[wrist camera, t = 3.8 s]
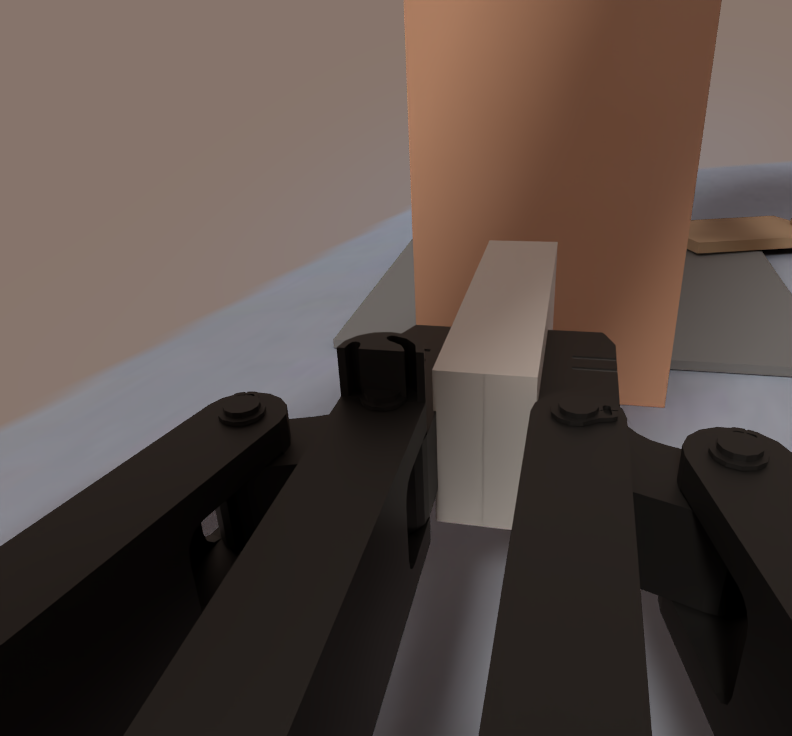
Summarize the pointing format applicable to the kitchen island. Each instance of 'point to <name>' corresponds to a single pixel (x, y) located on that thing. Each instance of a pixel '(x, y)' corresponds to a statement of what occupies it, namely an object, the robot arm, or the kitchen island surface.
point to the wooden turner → (739, 234)
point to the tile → (562, 157)
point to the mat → (696, 320)
